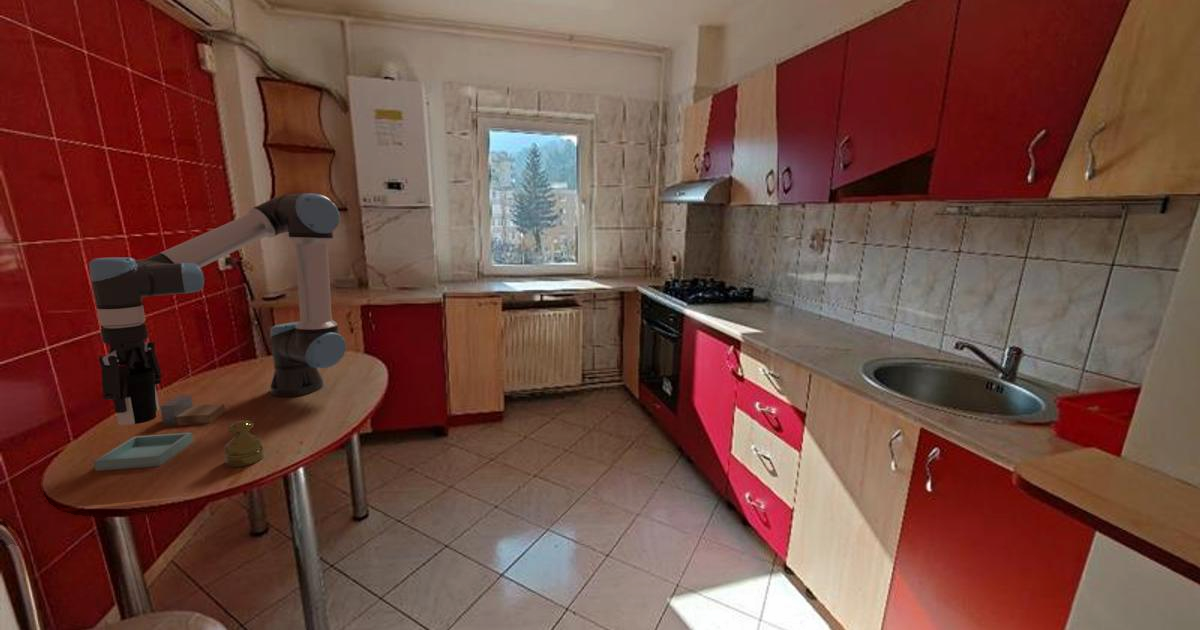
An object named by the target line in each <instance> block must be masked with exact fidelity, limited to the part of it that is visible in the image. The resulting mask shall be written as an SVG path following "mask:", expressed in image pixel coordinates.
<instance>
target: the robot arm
mask: <svg viewBox="0 0 1200 630" xmlns="http://www.w3.org/2000/svg"><path fill="white" fill-rule="evenodd" d="M340 216H341V215H340V212H339V209H338V207H337V205H336V204H335V203H334V202H333V201H332V200H331V198H328V197H327V196H325V195H324V194H318V193H313V192H303V193H285V194H281V195H277V196H276V197H273V198H271V199H269V200H267V201H264V202H262V203H260V204H259V205H256V206H253V207H252V208H250V209H249V210H248V213H247V214H245V215H243V216H241V217H238V218H237V219H234V220H232V221H229V222H226V224H223V225H220V226H218V227H216V228H214V229H211V230H209V231H207V232H204V233H202V234H200V235H198V236H194V237H192V238H191V239H188V240H186V241H184V242H182V243H179V244H177V245H174V246H172V247H170V248H168V249H166V250H164V251H161V252H158V253H157V254H154V255H152V256H148V257H147V258H145V259H137V260H136V259H134V258H133V257H128V256H127V257H125V256H124V257H121V256H120V257H119V256H118V257H97V258H93V259H91V260H90V262H89V263H88V265H89V266H88V267H89V268H88V269H89V276H90V277H89V281H90V282H91V287H92V291H93V296H94V300H95V306H96V310H97V317H98V323H99V325H100V326H102V327H101V328H100V329H99V330H100V334H101V339H102V343H103V344H105V345H108V346H109V351H108V354H107V355H100V356H98V362H99V364H100V367H101V368H100V369H101V382H102V384H101V385H102V386H101V387H102V399H103V400H105V401H106V400H111V401H112V403H113V406H114V410H115V411H114V412H115V414H116V418H117V423H118V426H128V425H130V426H131V425H136V424H135V420H134V414H133V409H132V403H131V398H130V397H127V391H128V381H127V376H129V375H130V369H132V368H134V369H135V371H136V372H137V373H142V374H143V373H147V372H148V367H150V368H154V373H155V399H156V412H157V411H158V412H159V410H160V405H159V399H158V393H157V392H158V391H157V385H158V384H159V385H160V384H161V382H162V380H161V379H162V373H161V369H160V364H159V361H158V359H157V355H156V351H155V349H156V348H155V342H154V341H146V340H147V339H148V338H149V333H148V328H147V324H146V323H145V322H146V314H145V310H144V303H143V298H145V297H147V298H149V297H156V296H167V295H177V294H178V295H179V294H183V295H184V294H185V295H188V294H189V293H198V292H200V291H202V290H203V289H204V286H205V277H204V272H203V271H202V268H203V267H205V266H207V265H210V264H212V263H214V262H215V261H217V260H220V259H222V258H224V257H226V256H229V255H230V254H233V253H234V252H236V251H239V250H240V249H242V248H245V247H247V246H248V245H251V244H253V243H255V242H257V241H259V240H262V239H263V238H266V237H267V238H273V237H276V236H278V235H280V234H285V233H288V239H289V240H291V241H292V242H293V243H294V245H295V260H296V261H295V262H296V275H297V288H298V289H297V290H298V304H299V305H298V306H299V321H293V322H286V323H280V324H275V325H273V326H272V327H270V330H269V339H270V345H271V352H272V359H273V366H274V367H273V368H274V372H273V375H272V379H271V382H270V395H272V396H274V397H279V398H281V397H282V398H290V397H299V396H302V395H303V396H304V395H308V394H312V393H314V392H317V391H319V390H321V389H322V388H323V387H324V385H325V384H324V378H323V377H322V374H321V372H320V370H319V369H327V368H331V367H333V366H335V365H336V364H338V363H339V362H340V361H341V359H343V358H344V356H345V354H346V350H347V342H346V340H345V337H343V336H342V335H341V334H340V333H339V327H338V323H337V322H336V321H335V320H333V315H332V298H331V296H332V295H331V280H330V262H329V260H330V259H329V244H330V243H331V241H333V239H334V233H333V232H334V231H336V229H337V227H338V226H339V224H340V220H341V219H340ZM145 341H146V342H145ZM120 393H121V394H120Z"/></svg>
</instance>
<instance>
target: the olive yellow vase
mask: <svg viewBox="0 0 1200 630" xmlns="http://www.w3.org/2000/svg"><path fill="white" fill-rule="evenodd" d="M254 425H255V424H254V422H253V421H250V420H243V419H242V420H237V421H236V422H234V423H232V424H231V425H229V426H228V428H227V431H228V432H229V433H233V434H234V437H233V438H232V439H231V440H230V441H229V442H227V443H226V444H225V446H224V447H223V450H224V453H225V456H224V458H225V463H226V466H228V467H231V468H241V467H246V466H249V465H253V464H256V463H257V462H259V461H260V460H262V459H263V458H264V456H265V454H264V446H262V445H263V439H262V438H261V437H260V436H257V435H254V434H251V433H250V430H251V429H253V428H254Z"/></svg>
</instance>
